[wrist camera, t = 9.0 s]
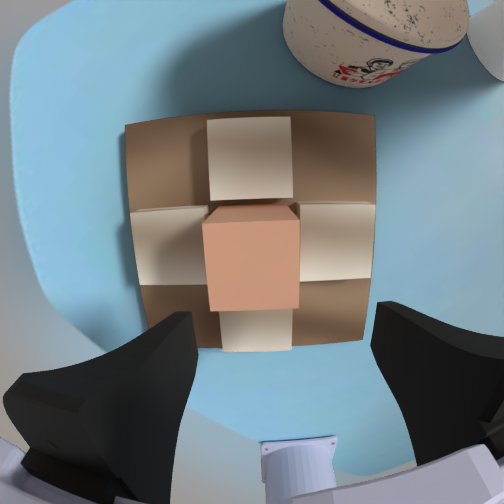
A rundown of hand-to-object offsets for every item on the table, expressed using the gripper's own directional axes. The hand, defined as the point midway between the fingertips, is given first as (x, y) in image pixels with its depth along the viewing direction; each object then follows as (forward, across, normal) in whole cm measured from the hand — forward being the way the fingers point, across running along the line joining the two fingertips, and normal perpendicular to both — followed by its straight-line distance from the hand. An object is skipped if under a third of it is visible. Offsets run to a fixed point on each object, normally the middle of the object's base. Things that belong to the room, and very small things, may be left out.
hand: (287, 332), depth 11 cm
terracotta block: (+8, +1, -2) cm, 9 cm away
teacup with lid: (+9, -7, -17) cm, 20 cm away
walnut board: (+9, +1, -2) cm, 10 cm away
